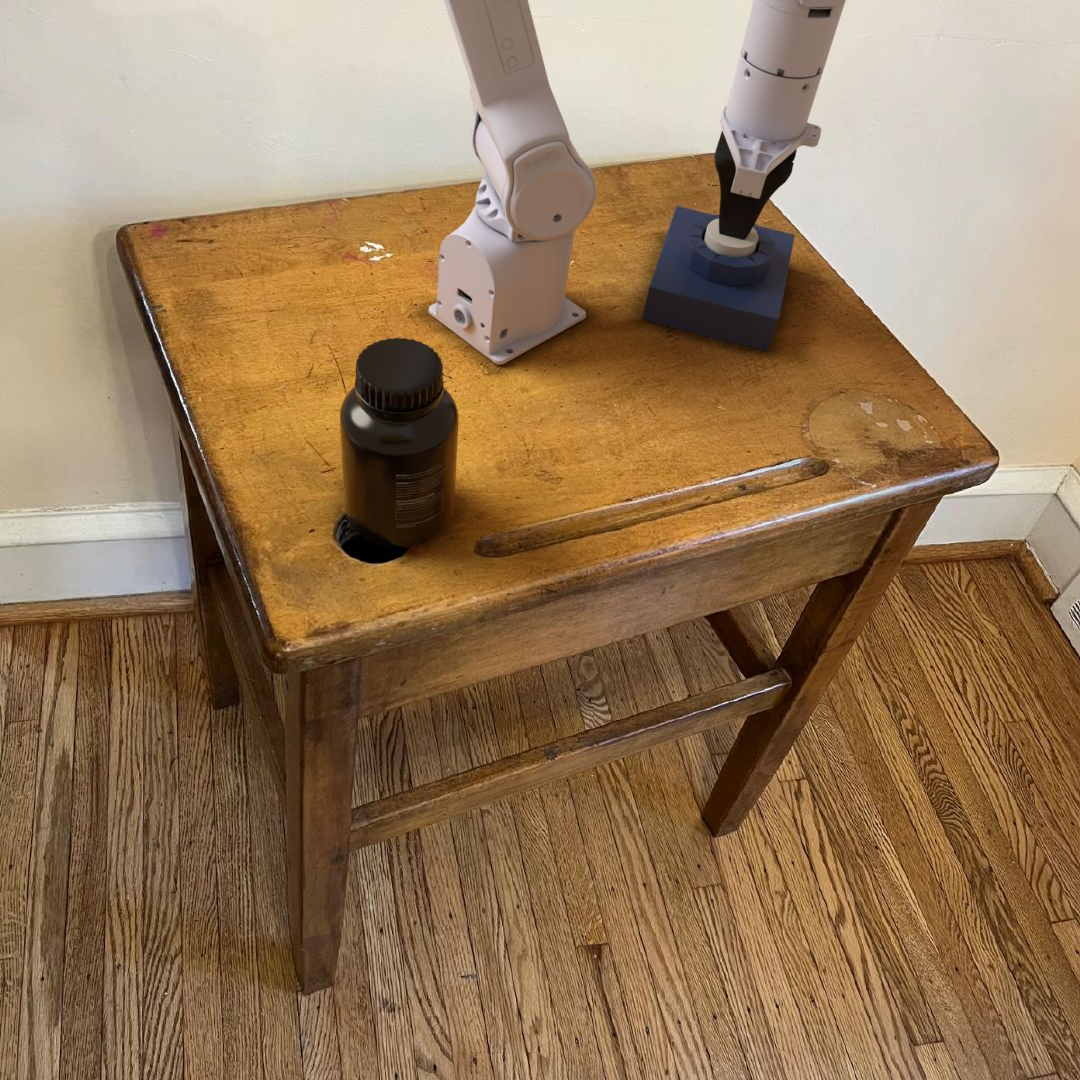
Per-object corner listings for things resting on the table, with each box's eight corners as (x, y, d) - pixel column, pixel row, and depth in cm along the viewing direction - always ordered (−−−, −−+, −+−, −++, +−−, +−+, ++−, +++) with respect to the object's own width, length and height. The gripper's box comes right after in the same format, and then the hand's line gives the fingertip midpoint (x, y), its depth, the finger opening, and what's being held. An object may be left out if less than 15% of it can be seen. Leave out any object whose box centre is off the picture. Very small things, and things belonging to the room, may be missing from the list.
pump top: (749, 272, 82) (755, 252, 81) (698, 259, 83) (703, 239, 81) (755, 244, 85) (761, 225, 84) (706, 232, 85) (711, 212, 84)
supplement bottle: (460, 480, 70) (472, 335, 61) (444, 560, 66) (454, 415, 56) (356, 465, 70) (352, 317, 61) (332, 543, 65) (324, 396, 56)
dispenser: (767, 352, 82) (785, 299, 79) (641, 320, 83) (653, 266, 80) (784, 267, 90) (801, 215, 87) (668, 238, 91) (681, 185, 87)
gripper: (832, 121, 67) (773, 298, 77) (848, 28, 77) (793, 196, 87) (722, 95, 68) (678, 275, 78) (751, 6, 77) (708, 176, 88)
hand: (733, 232), depth 83 cm, fingers closed, pressing on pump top
